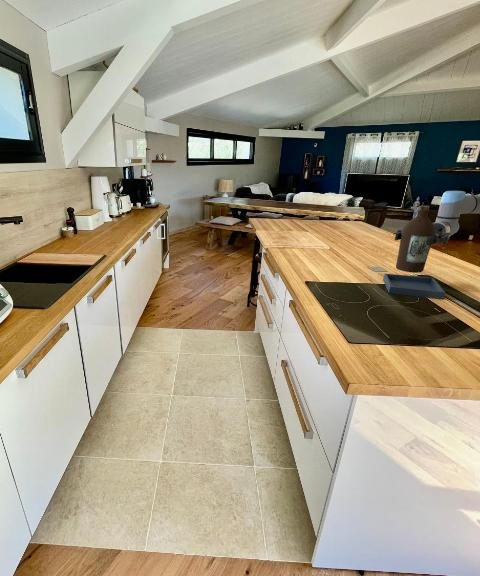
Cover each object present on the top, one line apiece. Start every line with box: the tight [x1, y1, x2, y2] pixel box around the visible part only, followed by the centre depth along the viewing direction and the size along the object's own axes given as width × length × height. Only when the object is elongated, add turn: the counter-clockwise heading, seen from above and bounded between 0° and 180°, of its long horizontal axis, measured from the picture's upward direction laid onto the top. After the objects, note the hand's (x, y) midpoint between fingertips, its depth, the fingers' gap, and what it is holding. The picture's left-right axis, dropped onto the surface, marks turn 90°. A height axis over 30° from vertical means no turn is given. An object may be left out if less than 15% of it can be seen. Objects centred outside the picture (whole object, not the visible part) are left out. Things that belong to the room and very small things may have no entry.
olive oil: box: [395, 205, 435, 274], centre depth 122 cm, size 11×11×25 cm
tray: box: [382, 272, 446, 300], centre depth 125 cm, size 18×17×3 cm
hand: (412, 239), depth 120 cm, fingers closed on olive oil, 11 cm apart
